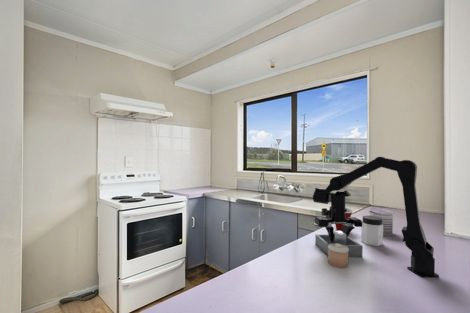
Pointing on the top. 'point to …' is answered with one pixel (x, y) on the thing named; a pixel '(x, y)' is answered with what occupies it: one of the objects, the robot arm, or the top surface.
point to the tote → (353, 246)
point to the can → (384, 219)
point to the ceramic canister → (338, 255)
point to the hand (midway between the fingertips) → (337, 241)
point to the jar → (372, 230)
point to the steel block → (339, 237)
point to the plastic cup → (347, 214)
